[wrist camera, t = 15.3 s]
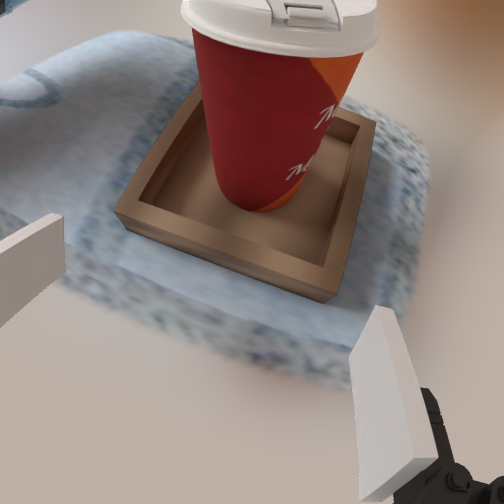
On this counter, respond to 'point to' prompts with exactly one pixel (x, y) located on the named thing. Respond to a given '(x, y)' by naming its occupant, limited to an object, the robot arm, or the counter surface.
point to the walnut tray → (248, 222)
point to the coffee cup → (274, 86)
